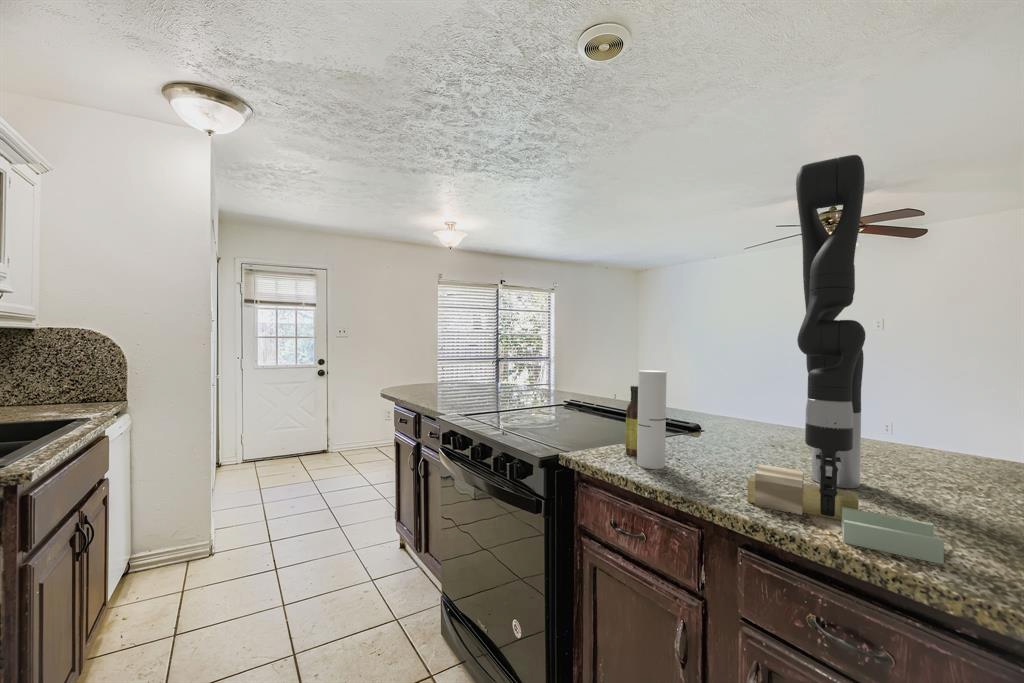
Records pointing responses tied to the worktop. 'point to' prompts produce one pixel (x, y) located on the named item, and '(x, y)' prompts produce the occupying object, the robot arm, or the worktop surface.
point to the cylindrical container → (651, 419)
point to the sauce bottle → (632, 423)
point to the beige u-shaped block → (779, 488)
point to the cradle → (892, 535)
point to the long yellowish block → (815, 499)
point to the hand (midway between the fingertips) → (827, 510)
